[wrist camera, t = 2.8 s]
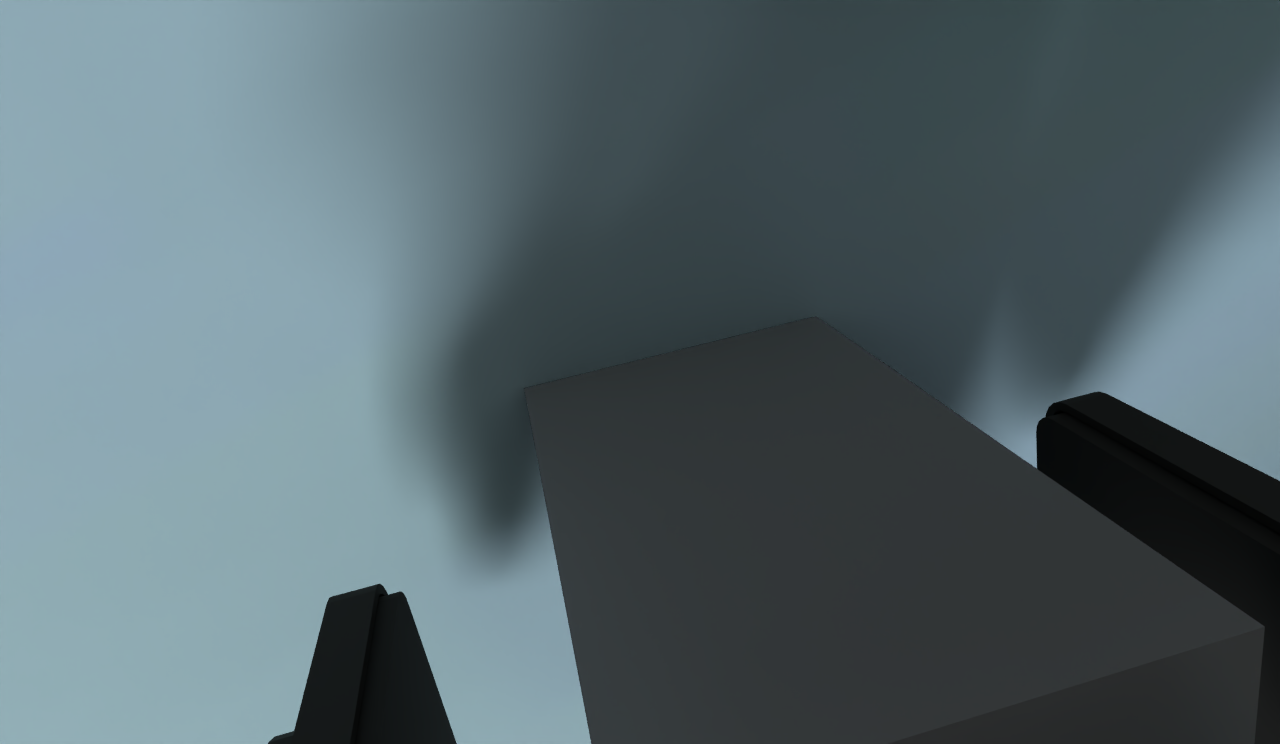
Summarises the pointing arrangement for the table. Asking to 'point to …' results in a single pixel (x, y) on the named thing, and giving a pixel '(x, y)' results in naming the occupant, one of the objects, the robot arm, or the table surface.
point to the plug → (856, 567)
